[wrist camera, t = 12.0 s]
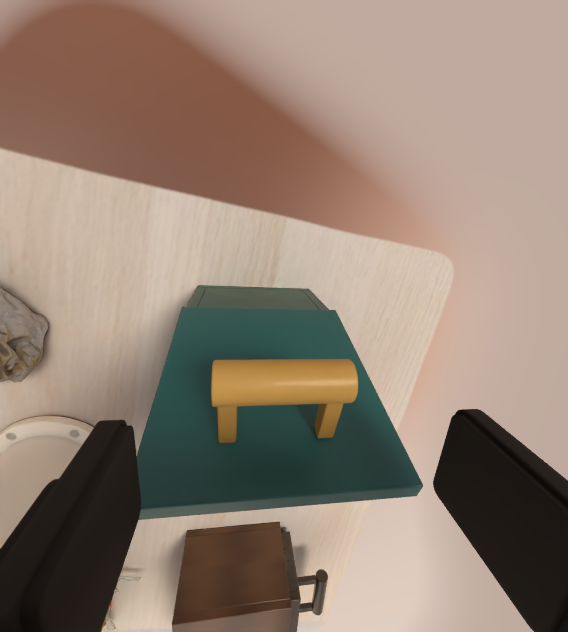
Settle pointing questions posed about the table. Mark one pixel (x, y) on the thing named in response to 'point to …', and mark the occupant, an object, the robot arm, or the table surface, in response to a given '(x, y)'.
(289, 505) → the chest lid
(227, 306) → the chest
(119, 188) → the table surface
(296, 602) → the rack drawer
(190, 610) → the cabinet
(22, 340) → the stone
